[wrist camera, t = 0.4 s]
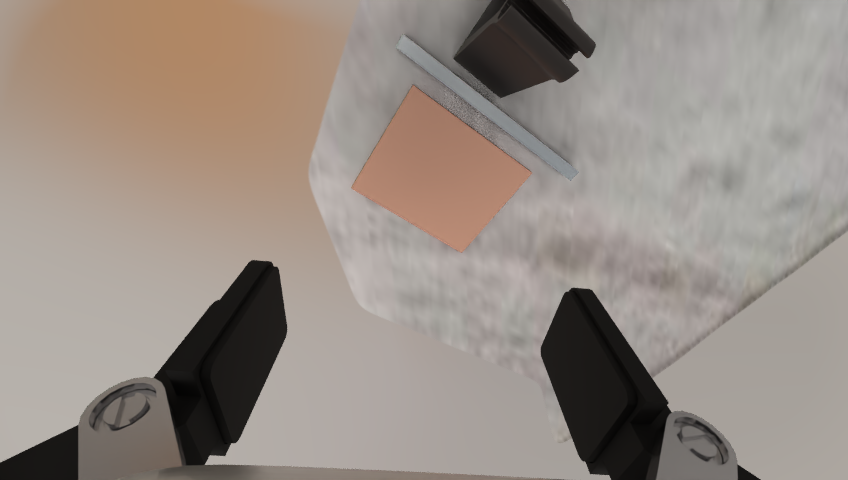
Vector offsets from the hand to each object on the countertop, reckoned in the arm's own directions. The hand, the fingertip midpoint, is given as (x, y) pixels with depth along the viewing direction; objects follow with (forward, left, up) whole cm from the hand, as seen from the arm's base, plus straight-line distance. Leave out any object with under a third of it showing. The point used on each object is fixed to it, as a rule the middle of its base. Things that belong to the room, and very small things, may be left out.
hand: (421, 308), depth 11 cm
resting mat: (+4, +5, -28) cm, 28 cm away
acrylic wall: (-5, +5, -28) cm, 29 cm away
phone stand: (-11, +2, -28) cm, 30 cm away
